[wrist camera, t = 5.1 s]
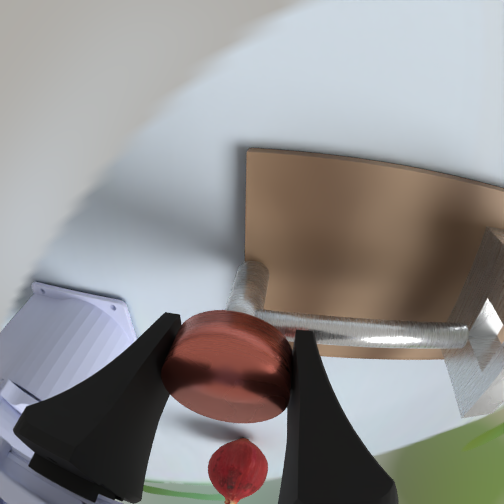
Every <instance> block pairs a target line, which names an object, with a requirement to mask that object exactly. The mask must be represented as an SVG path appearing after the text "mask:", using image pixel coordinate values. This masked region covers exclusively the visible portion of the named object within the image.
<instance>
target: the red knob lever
mask: <svg viewBox="0 0 504 504" xmlns="http://www.w3.org/2000/svg"><path fill="white" fill-rule="evenodd" d="M268 282H269V270H268V269H267V267H266V266H265V265H264V264H262V263H260V262H258V261H246V262H244V263H242V264H241V265H240V266H239V268H238V271H237V274H236V277H235V280H234V283H233V286H232V289H231V292H230V296H229V299H228V302H227V305H226V308H225V310H214V311H207V312H203V313H199V314H197V315H194V316H192V317H191V318H189V319H188V320H186V321H185V322H184V323H183V324H182V325H181V327H180V329H179V331H178V333H177V335H176V337H175V340H174V342H173V344H172V346H171V349H170V351H169V353H168V356H167V358H166V360H165V362H164V365H163V367H162V370H161V378H162V382H163V384H164V386H165V388H166V390H167V391H168V392H169V393H170V395H171V396H172V397H173V398H174V399H176V400H177V401H178V402H179V403H181V404H182V405H184V406H185V407H187V408H188V409H190V410H192V411H194V412H196V413H198V414H201V415H203V416H206V417H209V418H212V419H216V420H220V421H225V422H232V423H256V422H262V421H266V420H269V419H272V418H274V417H276V416H278V415H279V414H281V413H282V412H283V411H284V410H285V409H286V408H287V406H288V404H289V400H290V389H291V377H292V365H293V351H292V348H291V345H290V343H289V342H288V341H291V342H294V339H295V333H296V330H307V331H313V332H314V333H315V338H316V343H317V344H325V345H339V346H356V347H377V348H413V349H449V348H463V347H464V346H465V345H466V343H467V341H468V334H469V332H468V327H467V325H466V324H465V323H454V322H422V321H400V320H382V319H366V318H351V317H338V316H326V315H314V314H304V313H293V312H283V311H274V310H265V309H264V304H265V299H266V293H267V287H268Z"/></svg>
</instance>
